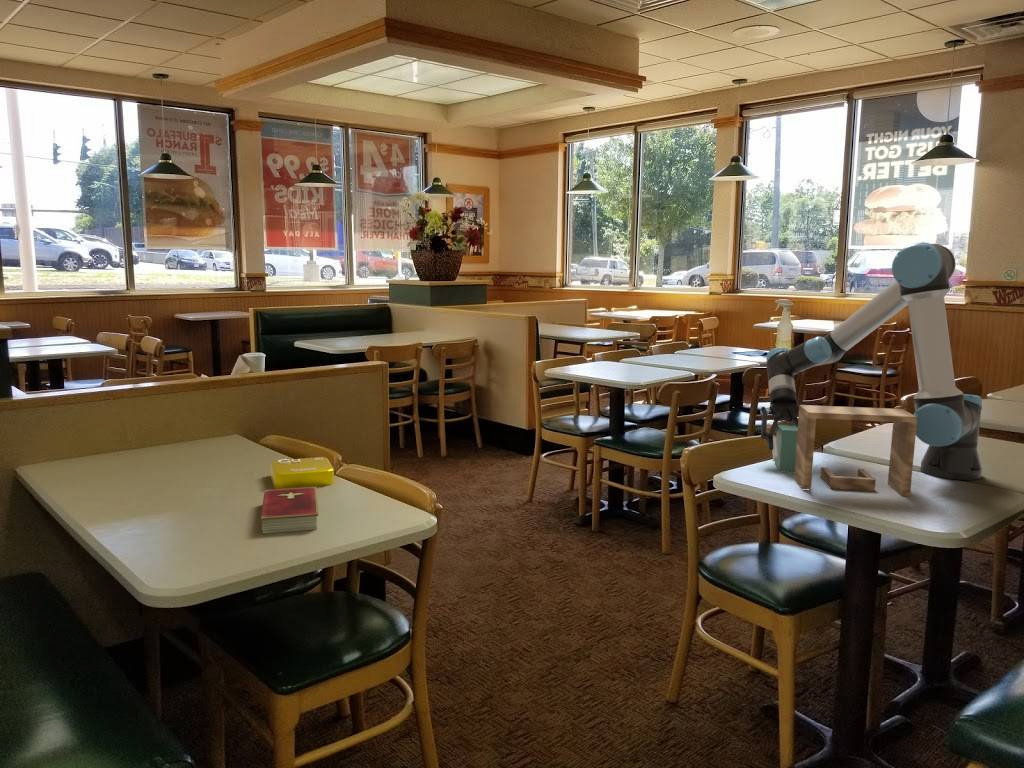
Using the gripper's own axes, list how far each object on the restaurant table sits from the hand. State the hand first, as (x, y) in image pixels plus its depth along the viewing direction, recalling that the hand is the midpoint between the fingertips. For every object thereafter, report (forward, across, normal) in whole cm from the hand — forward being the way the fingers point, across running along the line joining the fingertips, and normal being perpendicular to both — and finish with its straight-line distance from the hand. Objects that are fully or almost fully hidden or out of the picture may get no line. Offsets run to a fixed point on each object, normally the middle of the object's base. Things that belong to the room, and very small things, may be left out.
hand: (789, 459), depth 217 cm
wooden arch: (+11, -13, +6) cm, 18 cm away
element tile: (+28, +130, +22) cm, 134 cm away
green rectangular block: (0, 0, -5) cm, 5 cm away
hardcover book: (+49, +119, +43) cm, 136 cm away
